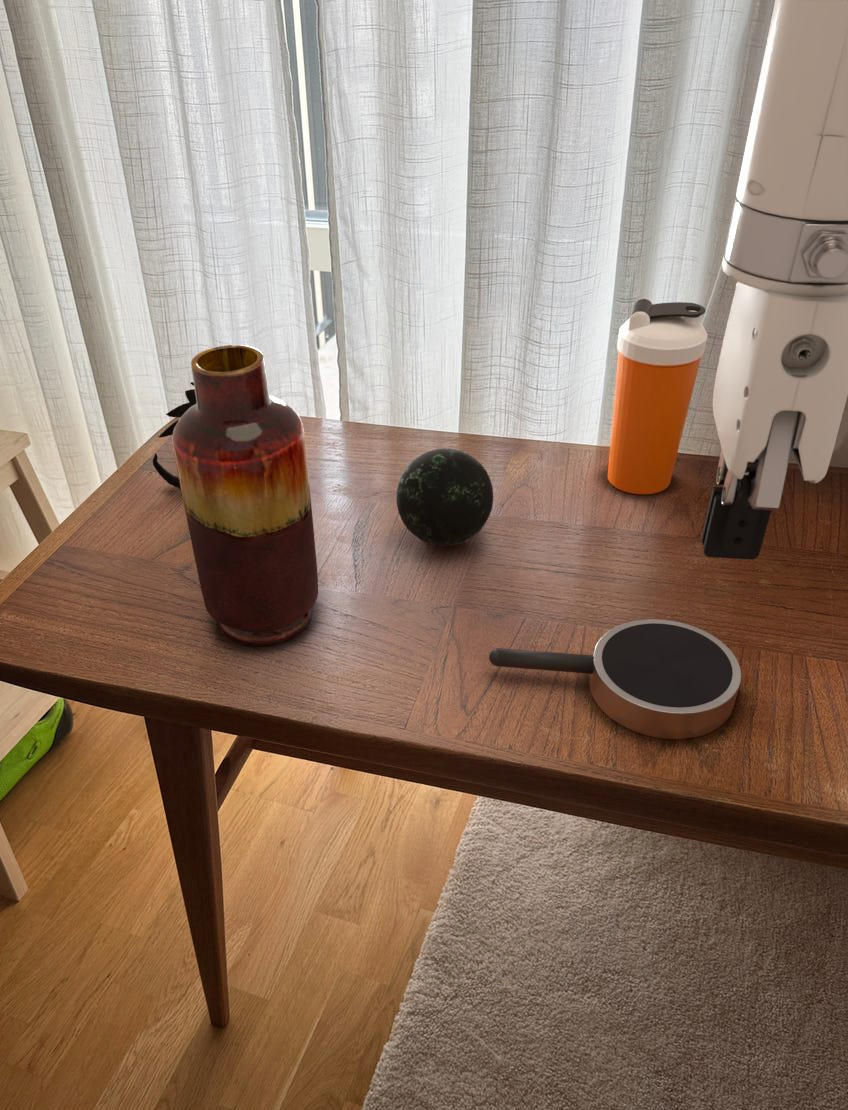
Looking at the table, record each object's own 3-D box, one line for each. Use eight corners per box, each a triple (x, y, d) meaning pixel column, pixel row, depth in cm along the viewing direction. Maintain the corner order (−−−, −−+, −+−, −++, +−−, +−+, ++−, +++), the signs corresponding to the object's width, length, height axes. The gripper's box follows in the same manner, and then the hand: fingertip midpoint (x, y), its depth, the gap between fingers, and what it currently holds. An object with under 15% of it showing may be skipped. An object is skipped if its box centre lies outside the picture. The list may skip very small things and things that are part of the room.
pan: (724, 649, 83) (731, 623, 81) (743, 746, 73) (751, 719, 72) (492, 632, 86) (493, 607, 84) (483, 722, 77) (484, 696, 75)
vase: (248, 572, 95) (210, 324, 78) (341, 599, 91) (322, 343, 74) (185, 634, 88) (127, 374, 71) (283, 667, 83) (247, 398, 67)
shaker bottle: (682, 501, 102) (718, 323, 89) (600, 497, 103) (624, 322, 90) (674, 462, 109) (707, 291, 96) (597, 459, 110) (620, 290, 97)
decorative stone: (399, 566, 95) (396, 481, 88) (395, 515, 102) (393, 433, 96) (496, 563, 94) (501, 477, 88) (485, 511, 102) (489, 429, 96)
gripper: (936, 295, 39) (817, 631, 50) (854, 199, 50) (772, 492, 62) (749, 292, 40) (675, 621, 52) (710, 199, 51) (657, 486, 63)
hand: (728, 550), depth 57 cm, fingers closed
